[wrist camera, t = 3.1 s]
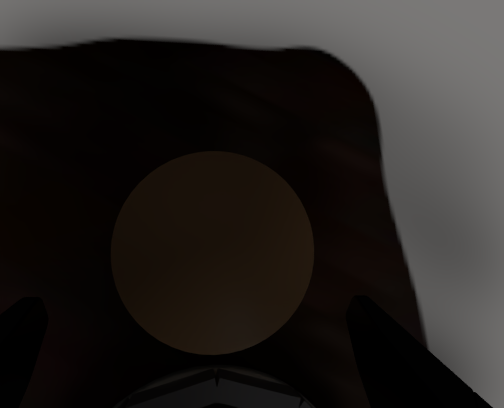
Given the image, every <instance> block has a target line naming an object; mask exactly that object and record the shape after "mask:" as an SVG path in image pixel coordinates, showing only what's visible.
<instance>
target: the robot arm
mask: <svg viewBox="0 0 504 408" xmlns="http://www.w3.org/2000/svg"><path fill="white" fill-rule="evenodd" d="M346 321H347V325H348V330H349V334H350V338H351V343H352V347H353V351H354V355H355V360H356V364H357V367H358V371H359V374H360V377H361V380H362V383H363V385H364V388H365V391H366V394H367V397H368V400H369V403H370V406H371V408H493V407H491V406H490V405H489V404H488V403H487V402H486V401H484V399H482V398H481V397H480V396H479V395H478V394H477V393H476V392H473V390H472V389H471V388H470V387H469V386H468V385H467V384H465V383H464V382H463V381H462V380H461V379H460V378H459V377H458V376H457V375H455V374H454V373H453V372H452V371H451V370H450V369H449V368H448V367H446V366H445V365H444V364H443V363H442V362H441V361H440V360H439V359H437V358H436V357H435V356H434V355H433V354H432V353H431V352H430V351H429V350H427V349H426V348H425V347H424V346H423V345H422V344H421V343H420V342H418V341H417V340H416V339H415V338H414V337H413V336H412V335H411V334H409V333H408V332H407V331H406V330H405V329H404V328H403V327H402V326H401V325H399V324H398V323H397V322H396V321H395V320H394V319H393V318H392V317H390V316H389V315H388V314H387V313H386V312H385V311H384V310H383V309H381V308H380V307H379V306H378V305H377V304H376V303H375V302H374V301H372V300H371V299H370V298H369V297H367V296H354V297H353V298H352V300H351V302H350V305H349V307H348V309H347V312H346ZM47 325H48V315H47V312H46V309H45V306H44V303H43V301H42V299H41V298H40V297H25V298H22V299H20V300H19V301H18V302H16V303H15V304H14V305H12V306H11V307H10V308H9V309H7V310H6V311H5V312H3V313H2V314H1V315H0V408H19V405H20V403H21V401H22V398H23V396H24V394H25V391H26V389H27V387H28V384H29V382H30V379H31V376H32V373H33V370H34V366H35V363H36V360H37V357H38V354H39V351H40V347H41V344H42V341H43V338H44V335H45V331H46V328H47Z"/></svg>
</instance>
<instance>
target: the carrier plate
mask: <svg viewBox="0 0 504 408" xmlns="http://www.w3.org/2000/svg"><path fill="white" fill-rule="evenodd" d="M113 408H316V407H315V406H314V405H313V404H312V403H311V402H310V401H309V400H308V399H306V398H305V397H304V396H303V395H302V394H301V393H300V392H298V391H297V390H296V389H294V388H293V387H291V386H290V385H288V384H287V383H285V382H283V381H281V380H279V379H277V378H276V377H274V376H272V375H270V374H267V373H264V372H261V371H258V370H255V369H252V368H246V367H241V366H235V365H205V366H196V367H191V368H187V369H183V370H179V371H175V372H173V373H170V374H168V375H165V376H162V377H160V378H157V379H155V380H153V381H151V382H150V383H148V384H146V385H144V386H142V387H140V388H139V389H137V390H135V391H134V392H132V393H131V394H130V395H128V396H127V397H125V398H124V399H123V400H121V401H120V402H118V403H117V404H116V405H115V406H114V407H113Z"/></svg>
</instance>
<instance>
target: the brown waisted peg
mask: <svg viewBox="0 0 504 408" xmlns="http://www.w3.org/2000/svg"><path fill="white" fill-rule="evenodd" d="M313 263H314V242H313V234H312V229H311V225H310V222H309V219H308V216H307V213H306V211H305V209H304V207H303V205H302V203H301V201H300V199H299V198H298V196H297V195H296V193H295V192H294V190H293V189H292V188H291V187H290V186H289V185H288V183H287V182H286V181H285V180H284V179H283V178H282V177H280V176H279V175H278V174H277V173H276V172H274V171H273V170H272V169H270V168H269V167H267V166H266V165H264V164H262V163H260V162H258V161H256V160H254V159H252V158H249V157H246V156H243V155H239V154H236V153H231V152H223V151H205V152H196V153H192V154H188V155H184V156H181V157H178V158H176V159H173V160H171V161H169V162H167V163H165V164H163V165H161V166H160V167H158V168H157V169H155V170H154V171H153V172H151V173H150V174H149V175H147V176H146V177H145V178H144V179H143V180H142V181H141V182H140V183H139V184H138V185H137V186H136V188H135V189H134V190H133V191H132V192H131V194H130V195H129V197H128V198H127V200H126V201H125V203H124V205H123V207H122V209H121V211H120V213H119V215H118V218H117V221H116V224H115V227H114V230H113V236H112V242H111V266H112V273H113V277H114V281H115V285H116V288H117V290H118V293H119V295H120V298H121V300H122V302H123V303H124V305H125V307H126V309H127V310H128V312H129V313H130V314H131V316H132V317H133V318H134V319H135V321H136V322H137V323H138V324H139V325H140V326H141V327H142V328H143V329H144V330H145V331H147V332H148V333H149V334H150V335H152V336H153V337H155V338H156V339H158V340H159V341H161V342H163V343H165V344H167V345H169V346H171V347H173V348H176V349H179V350H182V351H185V352H189V353H195V354H202V355H219V354H229V353H233V352H237V351H241V350H244V349H246V348H249V347H251V346H254V345H256V344H258V343H260V342H261V341H263V340H265V339H267V338H268V337H270V336H271V335H272V334H273V333H275V332H276V331H277V330H279V329H280V328H281V327H282V326H283V325H284V324H285V323H286V322H287V321H288V320H289V318H290V317H291V316H292V315H293V313H294V312H295V311H296V309H297V308H298V306H299V304H300V303H301V301H302V299H303V297H304V295H305V292H306V290H307V288H308V285H309V282H310V278H311V275H312V269H313Z"/></svg>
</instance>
